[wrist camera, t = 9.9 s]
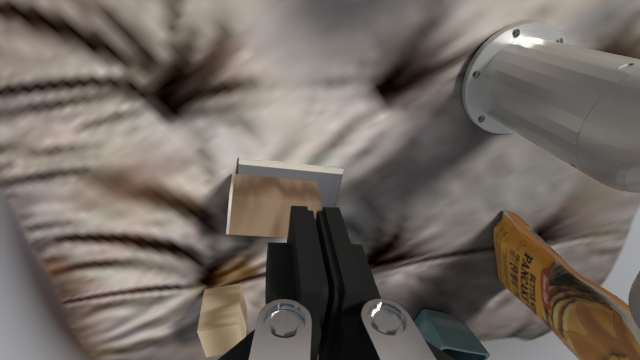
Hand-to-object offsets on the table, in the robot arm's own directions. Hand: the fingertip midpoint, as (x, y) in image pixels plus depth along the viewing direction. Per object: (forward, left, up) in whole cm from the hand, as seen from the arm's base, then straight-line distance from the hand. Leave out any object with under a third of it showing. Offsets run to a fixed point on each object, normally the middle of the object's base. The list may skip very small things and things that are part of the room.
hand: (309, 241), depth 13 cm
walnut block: (+3, +15, -26) cm, 30 cm away
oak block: (+3, +33, -29) cm, 44 cm away
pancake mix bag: (-39, +21, -29) cm, 53 cm away
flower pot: (-30, +37, -29) cm, 56 cm away
